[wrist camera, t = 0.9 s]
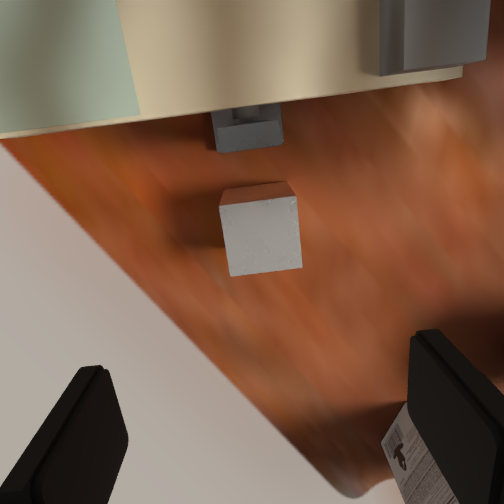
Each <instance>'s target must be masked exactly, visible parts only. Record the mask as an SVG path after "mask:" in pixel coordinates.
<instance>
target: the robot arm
mask: <svg viewBox="0 0 504 504" xmlns="http://www.w3.org/2000/svg"><path fill="white" fill-rule="evenodd" d="M407 410H408V414H409V416H410V418H411V420H412V422H413V424H414V426H415V427H416V429H417V431H418V433H419V434H420V436H421V438H422V440H423V441H424V443H425V445H426V446H427V448H428V450H429V452H430V453H431V455H432V457H433V459H434V460H435V462H436V464H437V466H438V467H439V469H440V471H441V473H442V474H443V476H444V478H445V480H446V481H447V483H448V485H449V487H450V488H451V490H452V492H453V494H454V495H455V497H456V499H457V500H458V502H459V504H504V395H503V394H502V393H501V392H500V391H499V390H498V389H497V388H496V386H495V385H494V384H493V383H492V382H491V381H490V380H489V379H488V378H487V377H486V376H485V375H484V374H482V373H481V372H480V371H478V370H477V369H476V368H475V367H474V366H473V365H472V364H471V363H470V362H469V361H468V360H467V359H466V358H465V356H464V355H463V354H462V353H461V352H460V351H459V350H458V349H457V348H456V347H455V346H454V345H453V344H452V343H451V342H450V341H449V340H448V339H447V338H446V337H445V336H444V335H443V334H442V333H441V332H440V331H439V330H438V329H429V330H420V331H417V332H416V334H415V336H412V337H411V339H410V354H409V374H408V395H407ZM127 447H128V433H127V430H126V427H125V423H124V420H123V416H122V413H121V410H120V406H119V403H118V399H117V396H116V393H115V389H114V386H113V382H112V379H111V376H110V373H109V371H108V370H107V369H104V368H103V367H102V366H101V365H95V366H86V367H81V368H80V369H79V370H78V371H77V373H76V374H75V376H74V377H73V379H72V381H71V382H70V383H69V385H68V387H67V388H66V389H65V391H64V392H63V394H62V395H61V397H60V398H59V400H58V401H57V403H56V404H55V406H54V408H53V409H52V410H51V412H50V413H49V415H48V416H47V418H46V419H45V421H44V423H43V424H42V425H41V427H40V429H39V430H38V431H37V433H36V434H35V436H34V437H33V439H32V440H31V442H30V443H29V445H28V446H27V448H26V449H25V451H24V452H23V454H22V455H21V457H20V458H19V460H18V461H17V463H16V464H15V466H14V467H13V469H12V470H11V472H10V473H9V475H8V476H7V478H6V479H5V481H4V482H3V484H2V485H1V487H0V504H107V503H108V501H109V498H110V495H111V493H112V490H113V487H114V484H115V481H116V479H117V476H118V473H119V470H120V467H121V464H122V462H123V459H124V456H125V453H126V450H127Z"/></svg>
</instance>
